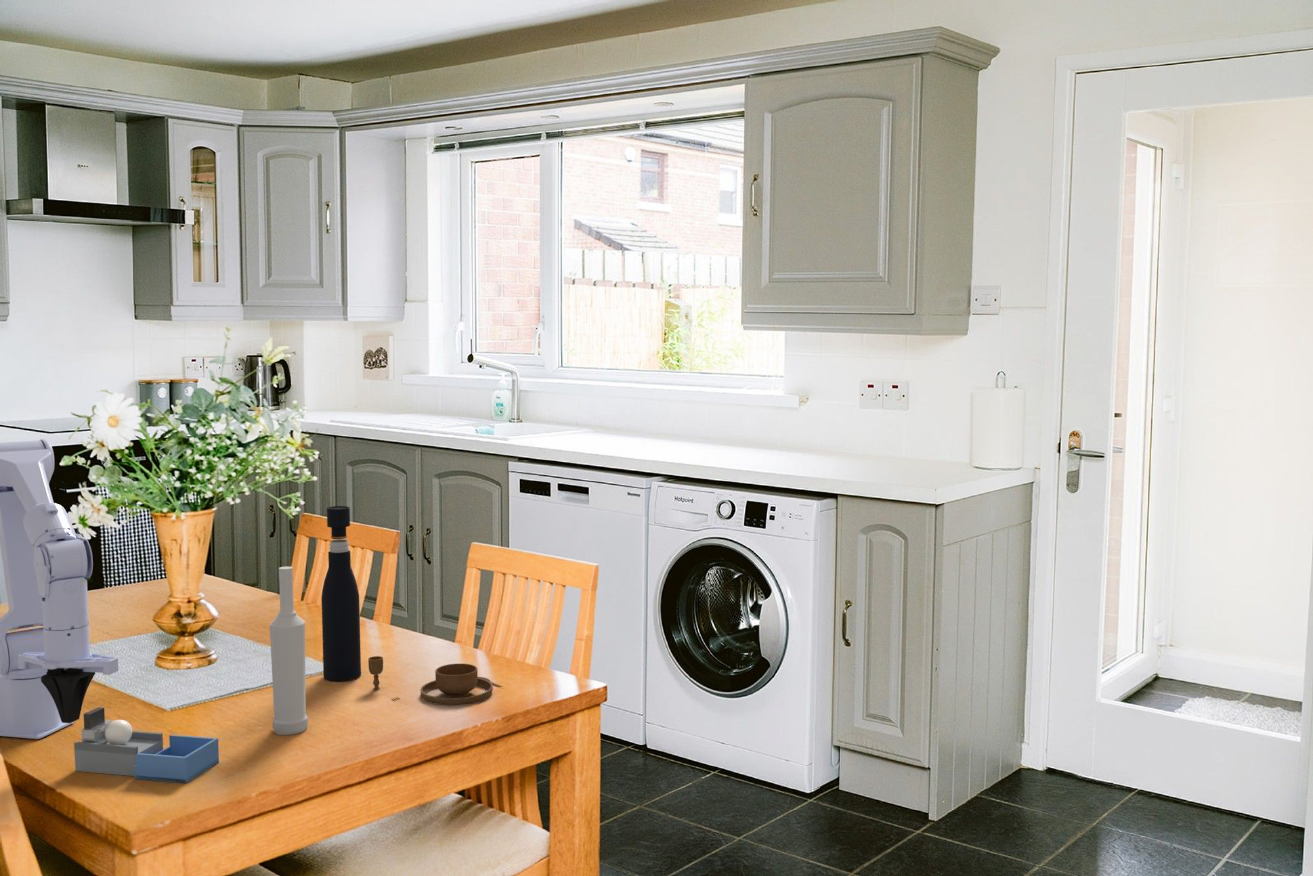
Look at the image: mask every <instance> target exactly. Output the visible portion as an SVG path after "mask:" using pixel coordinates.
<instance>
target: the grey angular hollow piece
mask: <svg viewBox="0 0 1313 876" xmlns="http://www.w3.org/2000/svg"><path fill="white" fill-rule="evenodd" d="M113 721H114V720H112V719H110V720H109V719H106V717H105V707H102V706H101V707H96V708H93V709H91V710H89V711H87V712H84V713H83V728H81V729H80V730H81V731H80V734H81V742H89V743H101V744H102V743H104V742H106V741H107V740H106V738H105V730H106V727H107V726H108V725H109V724H110V723H111V722H113Z"/></svg>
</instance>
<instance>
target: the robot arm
mask: <svg viewBox="0 0 1313 876" xmlns="http://www.w3.org/2000/svg"><path fill="white" fill-rule="evenodd" d="M54 454H55V453H54V449H53V447H52V444H51V443H50V442H48V440H47V439H45V438H42V439H39V440H27V441H25V440H24V441H23V440H22V441H10V442H8V441H7V442H0V552H1V560H2V568H3V576H4V582H5V583H4V584H5V589H6V597H7V605H8V611H7V612H6V613H5V614H3V615H2V616H1V617H0V737H11V738H22V739H31V740H32V739H34V740H38V739H42V738H44V737H47V736H48V735H51V734H53V733H54V732H57V731H60V730H62V729H63V728H65V727H68V726H70V725H72V724H74V723H75V722H76V721H78V720H80V717H81V713H82V712H81V711H82V707H83V704H84V700H85V697H86V693H87V691H88V689H89V687H90V684H91V682H92V680H93V678H94V676H95V675H96V673H98V674H99V673H100V674H101V673H102V675H104V676H105V675H106V676H108V675H109V676H110V675H112V674H114V673H117V672H119V659H118V658H119V657H113V656H108V655H103V654H100V653H99V654H98V653H94V652H91V646H90V645H91V643H90V642H91V641H90V622H89V621H90V620H89V618H90V617H89V616H90V615H89V596H88V595H89V594H88V579H90V578H91V576H92V574H93V568H94V567H93V566H94V561H93V552H92V547H91V545H90V543H89V540H88V538H87V537H85V536H83V535H82V534H81V533H76V531H75V528H74V526H73V524H72V521H71V519H70V517H69V515H68V513H67V511H66V509H65V508H64V506H62V505H61V504H58V503H56V502H54V499H53V495H52V492H51V488H50V481H51V479H52V476H53V474H54V471H55V455H54ZM37 627H38V628H37ZM27 628H31V629H27ZM21 629H23V630H21ZM16 630H18V631H16ZM9 631H10V632H9Z"/></svg>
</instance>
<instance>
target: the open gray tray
mask: <svg viewBox="0 0 1313 876" xmlns="http://www.w3.org/2000/svg"><path fill="white" fill-rule="evenodd" d="M163 736H164V735H163V732H155V731H154V732H153V731H143V730H132V736H131V738H130V739H129V741H128V742H126V743H125V744H123V745H114V744H110V743H109V742H108V741H106V742H104V743H102V744H101V743H89V742H82V741H75V742H74V743H73V748H74V749H73V750H74V770H75V772H83V773H85V772H86V773H96V774H107V775H117V776H119V775H120V776H131V777H134V766H135V765H136V754H137V753H144V754H156V753H158V752H159V751H161V750H163V749H164V740H163V739H164V737H163Z"/></svg>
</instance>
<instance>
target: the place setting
mask: <svg viewBox="0 0 1313 876" xmlns="http://www.w3.org/2000/svg"><path fill="white" fill-rule="evenodd" d="M367 663H368V671H369V673H370V675H373V682H372V684H373V686H374V687H373V688H372V690H373V691H378V690H381V688H380V687H379V685H380V682H381V681H380V680H379V675H381V674H382V673H383V671H384V657H383V656H379V655H377V656H375V655H373V656H370V657H368V662H367ZM434 671H435V672H434V673H435V679H434V680H432V681H429V682H427V683H425V684H423V685H422V686H421V687H420V696H421V697H422V699H423V700H425V701H426V702H428V703H432V704H434V705H442V706H462V705H463V706H464V705H468V704H474V702H475V703H478V702H481V701H484V700H485V699H487V698H488V696H489V697H490V696H491V695H492V692H493V690H494V688H493V687H497V688H500V687H504V686H503V685H500V684H498V683H495V682H493V681H491V679H489V678H487V677H484V676H478V674H479V673H478V667H477V666H475V665H474V664H470V663H449V664H444V665H441V666H439V667H437V668H436V669H435V670H434ZM475 688H479V689H482V690H484V689H485V690H484V692H482V693H480V694H476V695H471V696H468V695H470V692H471V691H473V690H474V689H475ZM434 690H438V691H439V692H441V693H443V694H444V695H445V697H439V696H433V695H429V693H430V692H432V691H434ZM486 690H487V691H486ZM391 700H392V701H393V702H396V701H399V700H401V698H400V697H398V696H397V697H395V698H394V697H392V698H391ZM461 704H462V705H461Z"/></svg>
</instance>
